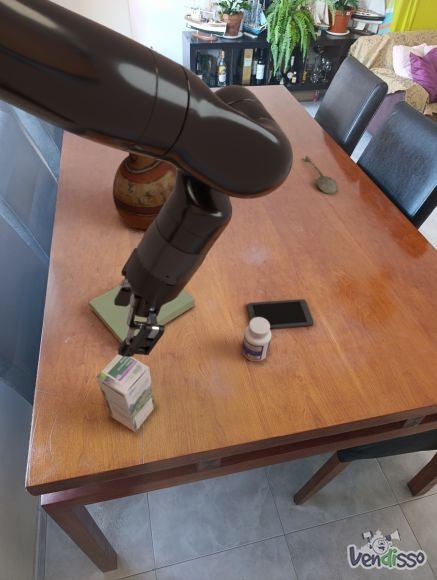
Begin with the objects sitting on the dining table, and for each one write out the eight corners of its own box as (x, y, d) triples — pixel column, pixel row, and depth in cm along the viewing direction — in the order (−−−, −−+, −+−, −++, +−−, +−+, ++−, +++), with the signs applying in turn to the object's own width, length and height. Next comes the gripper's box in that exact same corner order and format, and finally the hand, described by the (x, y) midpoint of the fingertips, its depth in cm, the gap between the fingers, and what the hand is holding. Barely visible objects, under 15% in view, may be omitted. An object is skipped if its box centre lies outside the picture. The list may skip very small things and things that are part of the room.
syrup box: (131, 391, 70) (119, 348, 59) (156, 407, 68) (149, 365, 57) (110, 416, 66) (93, 375, 56) (136, 434, 64) (124, 394, 54)
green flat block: (126, 351, 76) (124, 342, 73) (91, 310, 82) (88, 301, 80) (194, 307, 84) (194, 298, 82) (158, 273, 91) (157, 265, 89)
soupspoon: (319, 196, 119) (338, 195, 120) (323, 187, 116) (342, 186, 117) (298, 159, 133) (315, 159, 134) (300, 150, 130) (318, 150, 131)
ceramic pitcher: (102, 223, 104) (77, 112, 82) (142, 188, 116) (130, 84, 94) (164, 244, 99) (154, 132, 77) (198, 205, 111) (199, 100, 89)
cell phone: (314, 325, 82) (315, 323, 81) (252, 330, 80) (252, 328, 80) (304, 300, 87) (305, 298, 86) (246, 305, 85) (246, 302, 85)
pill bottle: (255, 336, 79) (260, 309, 73) (272, 352, 77) (279, 326, 70) (236, 349, 77) (240, 323, 71) (254, 366, 74) (259, 341, 68)
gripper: (133, 209, 47) (95, 286, 57) (145, 300, 39) (98, 371, 49) (185, 224, 51) (141, 293, 61) (206, 309, 43) (151, 372, 53)
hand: (122, 327), depth 55 cm, fingers open, 8 cm apart
